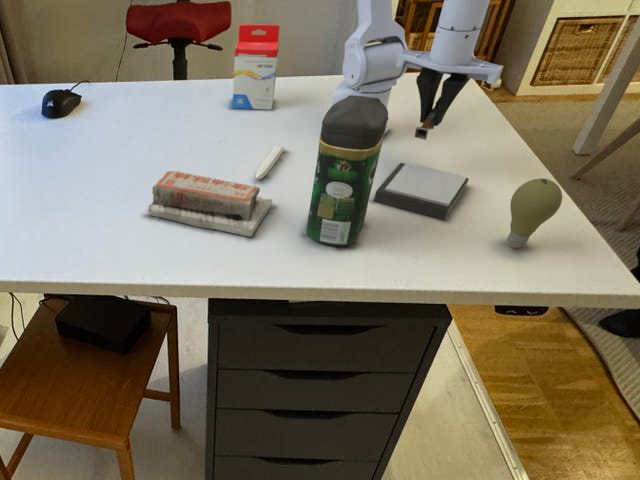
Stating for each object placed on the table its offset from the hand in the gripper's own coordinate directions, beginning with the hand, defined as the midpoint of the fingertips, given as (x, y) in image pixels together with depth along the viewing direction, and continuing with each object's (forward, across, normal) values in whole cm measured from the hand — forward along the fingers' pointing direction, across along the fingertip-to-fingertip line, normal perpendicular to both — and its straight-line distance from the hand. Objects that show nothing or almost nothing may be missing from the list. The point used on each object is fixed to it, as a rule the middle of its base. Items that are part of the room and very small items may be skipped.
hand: (430, 122), depth 86 cm
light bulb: (+9, -20, +13) cm, 25 cm away
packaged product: (+9, +21, +30) cm, 38 cm away
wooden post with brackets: (+2, 0, 0) cm, 2 cm away
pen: (+9, +22, +12) cm, 26 cm away
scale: (+8, -4, +7) cm, 11 cm away
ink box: (+8, +40, -9) cm, 41 cm away
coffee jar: (+9, +3, +24) cm, 26 cm away
